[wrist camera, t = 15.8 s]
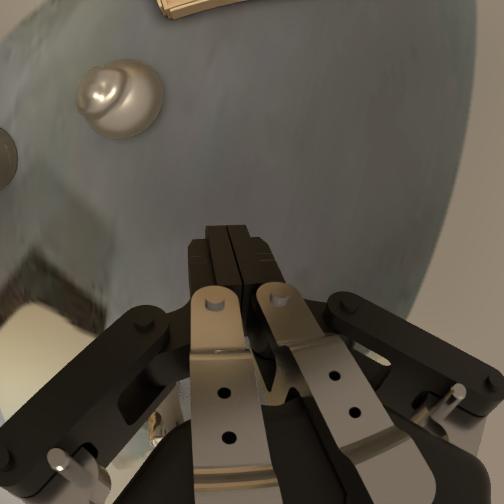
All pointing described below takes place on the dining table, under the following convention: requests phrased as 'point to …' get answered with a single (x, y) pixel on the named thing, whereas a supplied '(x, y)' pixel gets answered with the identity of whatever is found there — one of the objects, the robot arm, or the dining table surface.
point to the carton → (189, 6)
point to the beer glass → (165, 417)
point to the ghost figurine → (120, 98)
